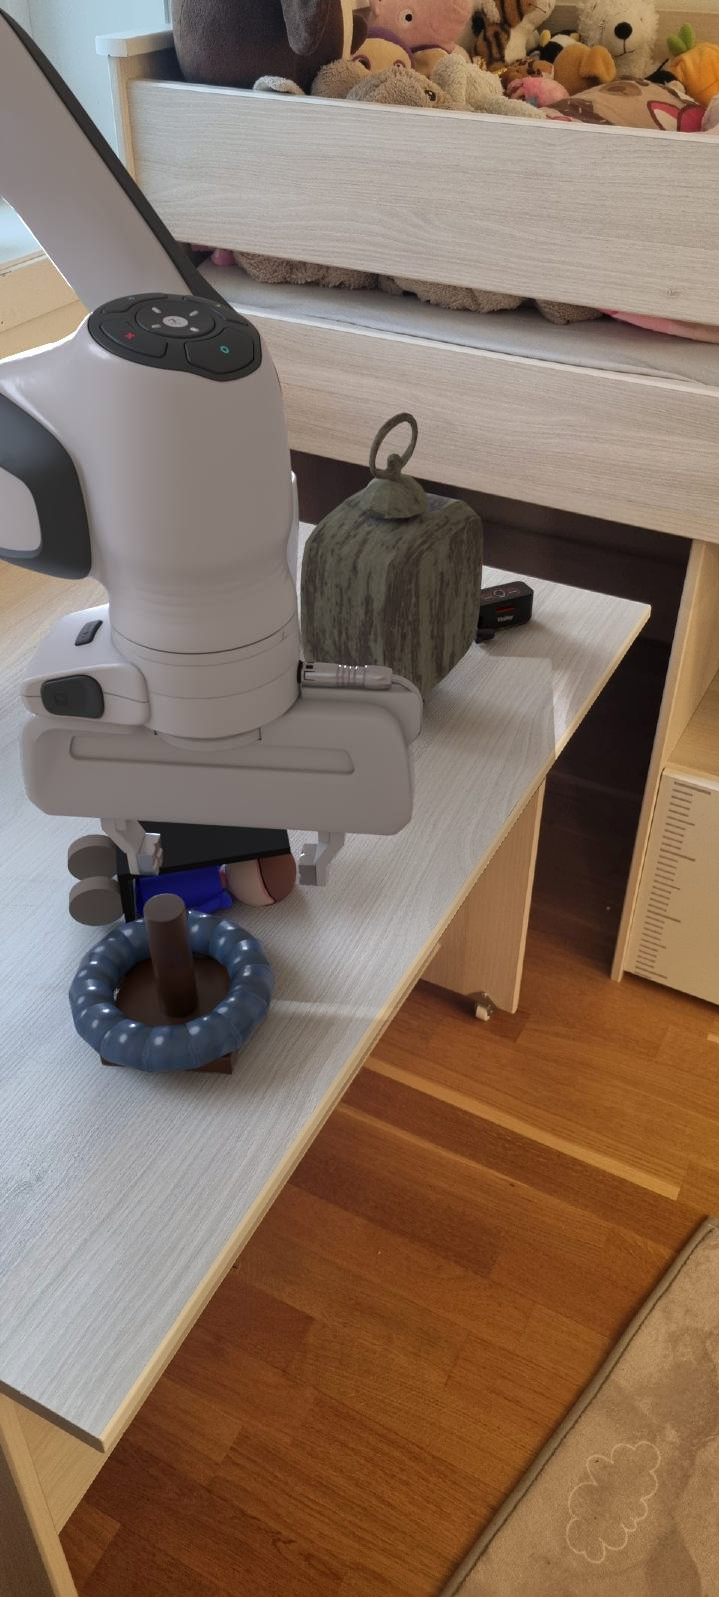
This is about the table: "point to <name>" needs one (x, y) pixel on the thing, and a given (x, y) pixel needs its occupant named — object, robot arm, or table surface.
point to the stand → (173, 978)
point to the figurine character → (181, 870)
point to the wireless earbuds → (503, 608)
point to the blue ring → (182, 1041)
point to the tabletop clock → (393, 576)
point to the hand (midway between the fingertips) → (230, 873)
